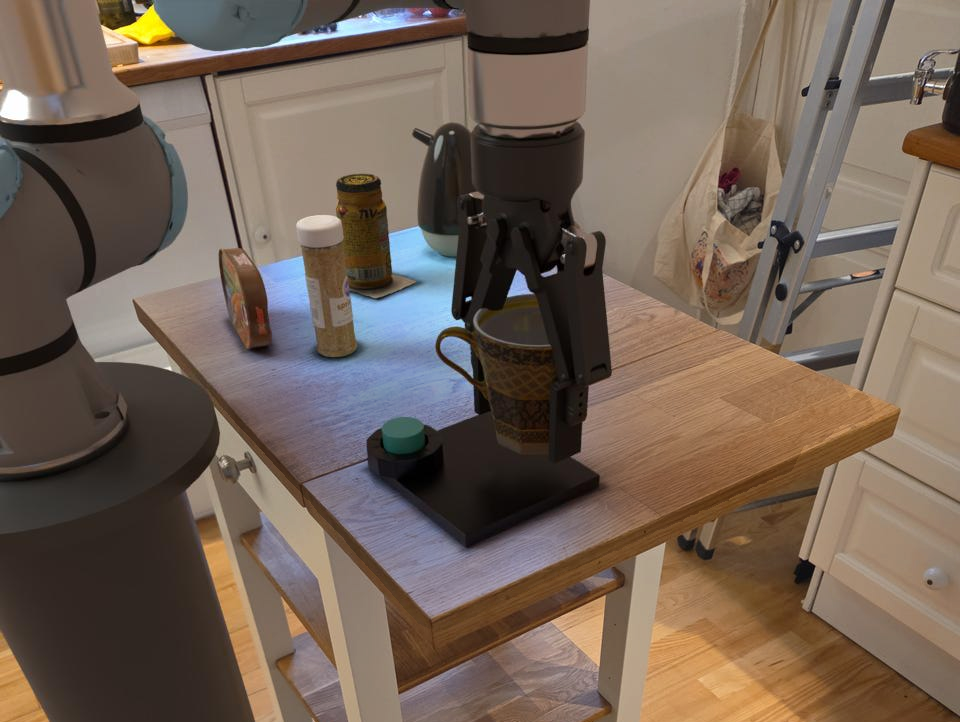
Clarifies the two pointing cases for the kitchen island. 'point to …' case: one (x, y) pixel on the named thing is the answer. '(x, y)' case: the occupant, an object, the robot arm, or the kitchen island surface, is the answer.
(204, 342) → the kitchen island surface
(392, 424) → the button
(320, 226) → the spice jar
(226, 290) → the tin
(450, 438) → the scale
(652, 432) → the kitchen island surface
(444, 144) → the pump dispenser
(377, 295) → the condiment
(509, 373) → the ceramic cup
